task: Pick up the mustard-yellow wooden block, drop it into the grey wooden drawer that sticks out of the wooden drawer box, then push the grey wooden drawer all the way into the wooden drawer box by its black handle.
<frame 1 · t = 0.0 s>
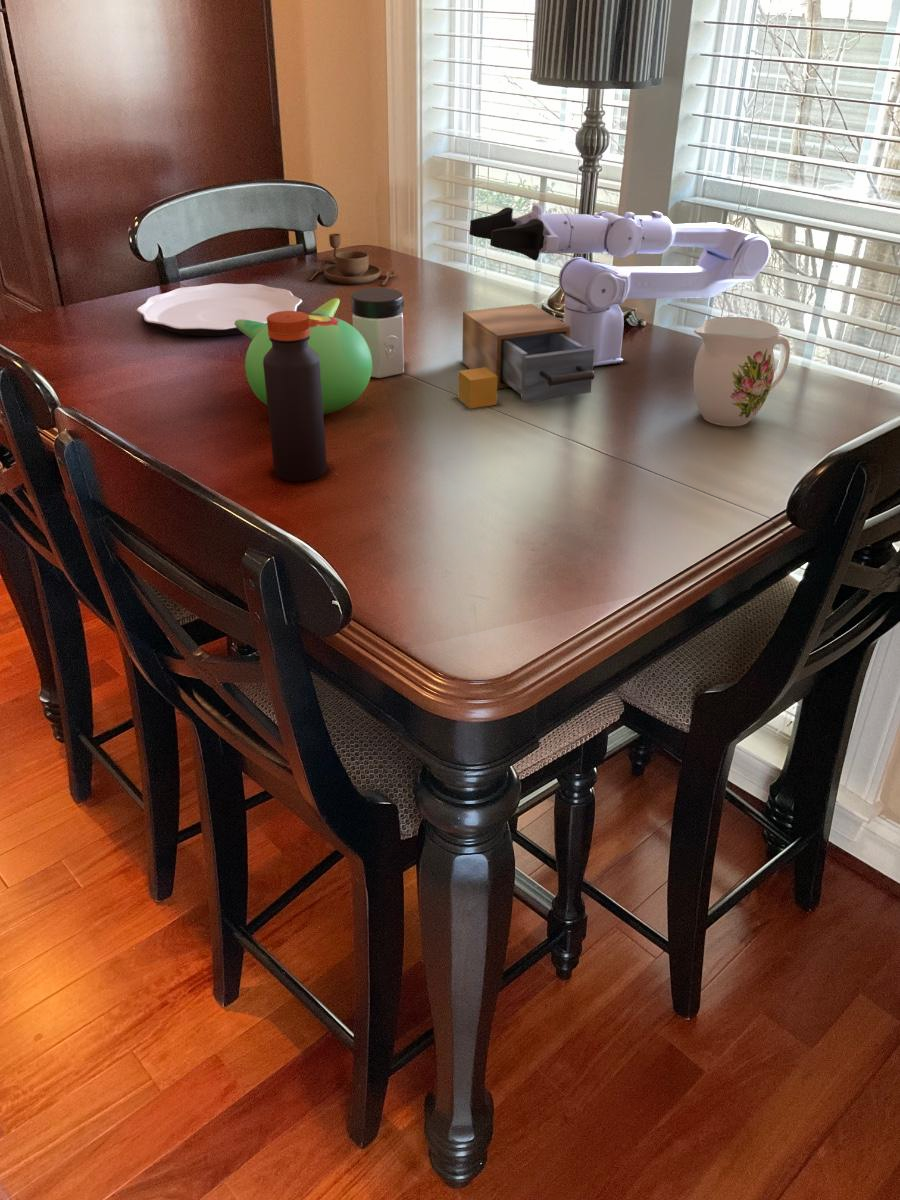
hand: (481, 232, 145), 22 cm above the table, tool horizontal, fingers open, 7 cm apart
pitcher: (730, 417, 142), on the table
jar: (379, 370, 159), on the table
block: (477, 401, 147), on the table
place setting: (356, 274, 209), on the table
wooden drawer box: (513, 370, 158), on the table
grey wooden drawer: (546, 367, 147), point 4 cm above the table, slide at 7.5 cm
toy bird: (311, 411, 144), on the table
bottle: (300, 473, 126), on the table
plate: (222, 318, 182), on the table
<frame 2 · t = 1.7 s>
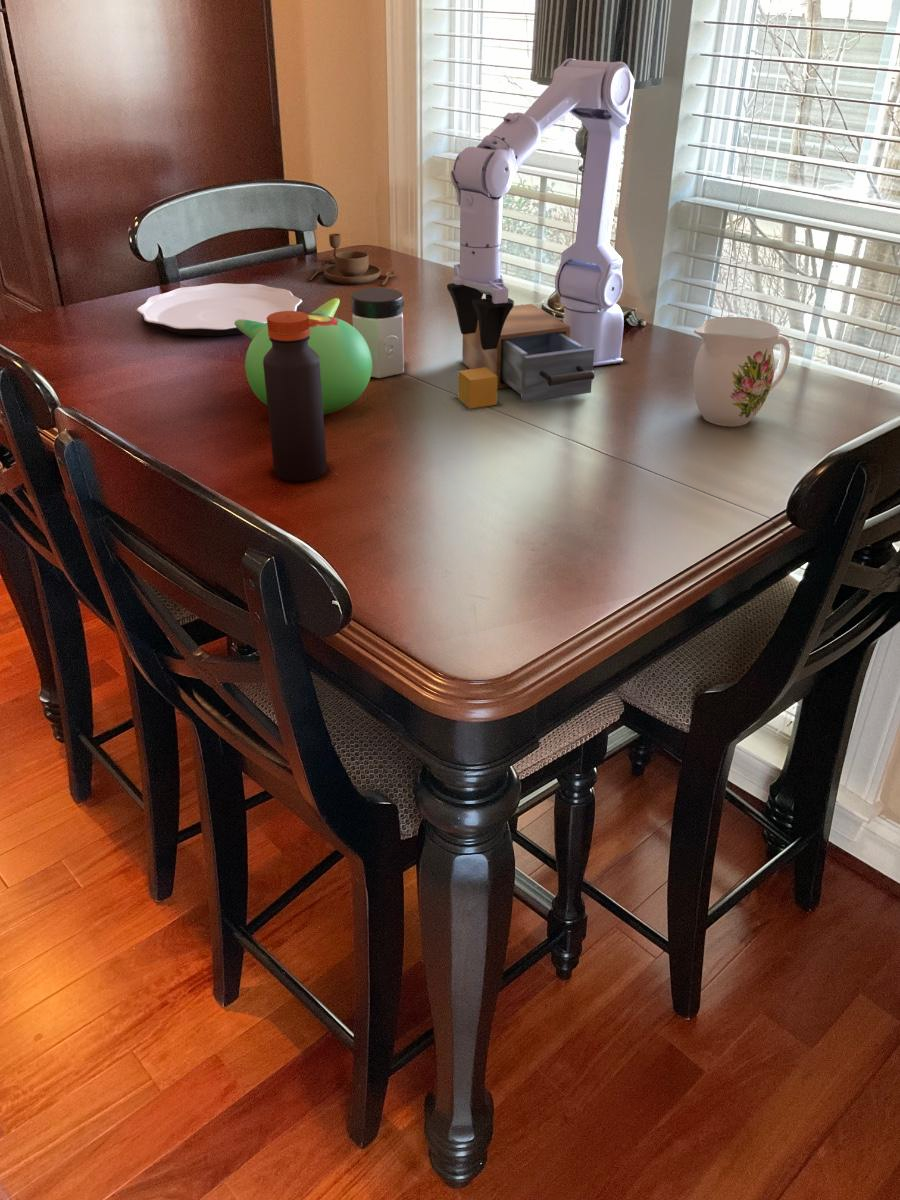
hand: (478, 340, 142), 9 cm above the table, tool pointing down, fingers open, 7 cm apart
nothing on the table moved.
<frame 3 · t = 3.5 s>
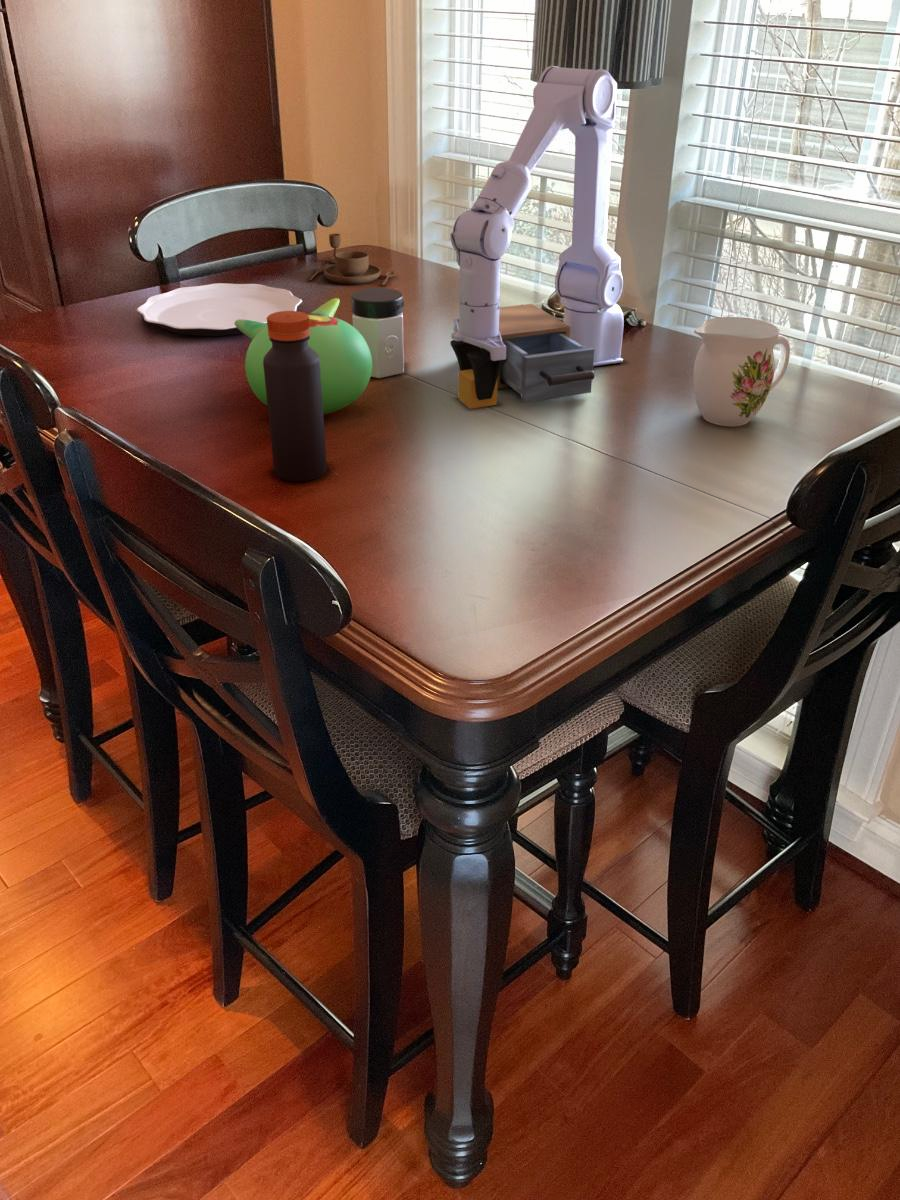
hand: (477, 392, 146), 1 cm above the table, tool pointing down, fingers closed on block, 4 cm apart
block: (477, 401, 147), on the table, touching gripper
everything else where it was.
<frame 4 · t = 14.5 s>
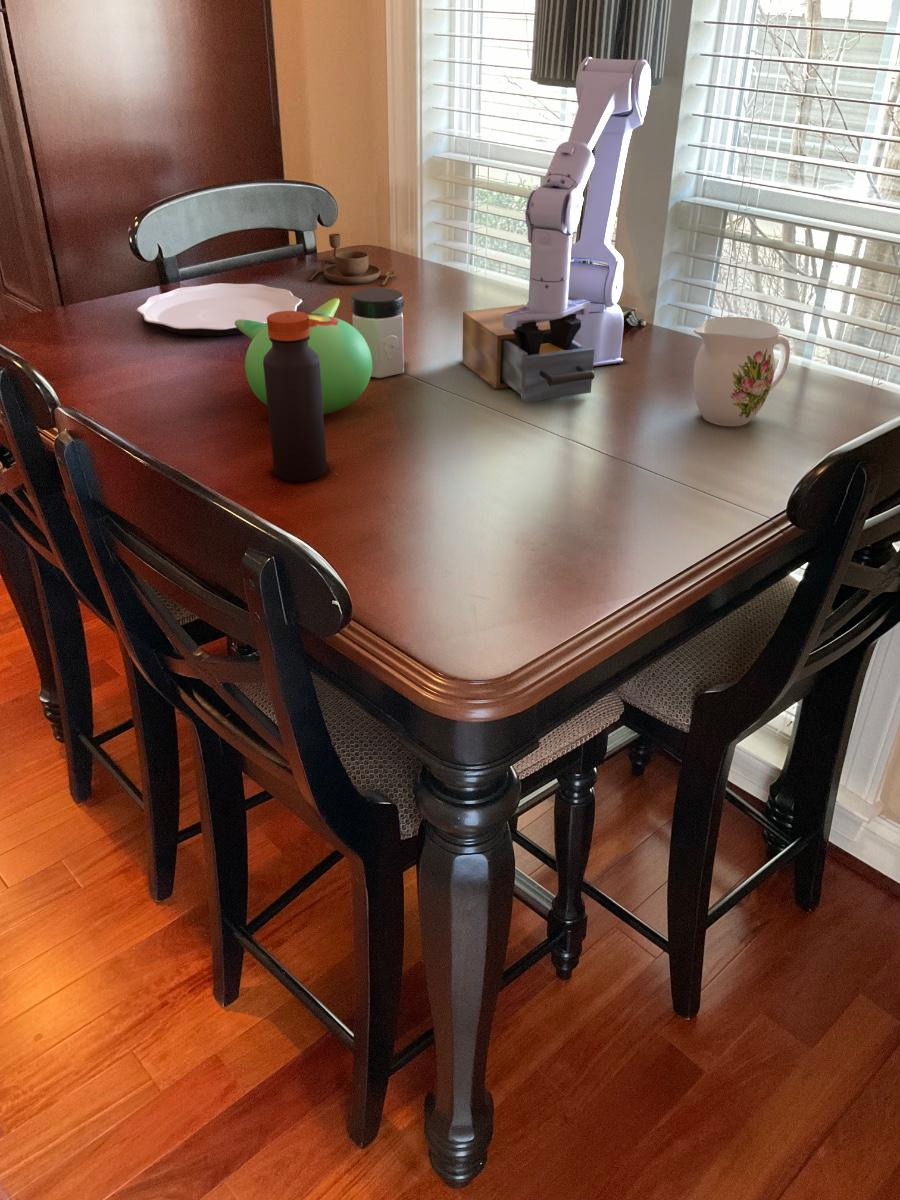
hand: (544, 368, 148), 4 cm above the table, tool pointing down, fingers closed on block, 4 cm apart
block: (543, 377, 149), point 2 cm above the table, touching gripper
everything else where it was.
when the fingers open (6 cm above the table, at t = 18.5 s): block stays where it is, resting on grey wooden drawer.
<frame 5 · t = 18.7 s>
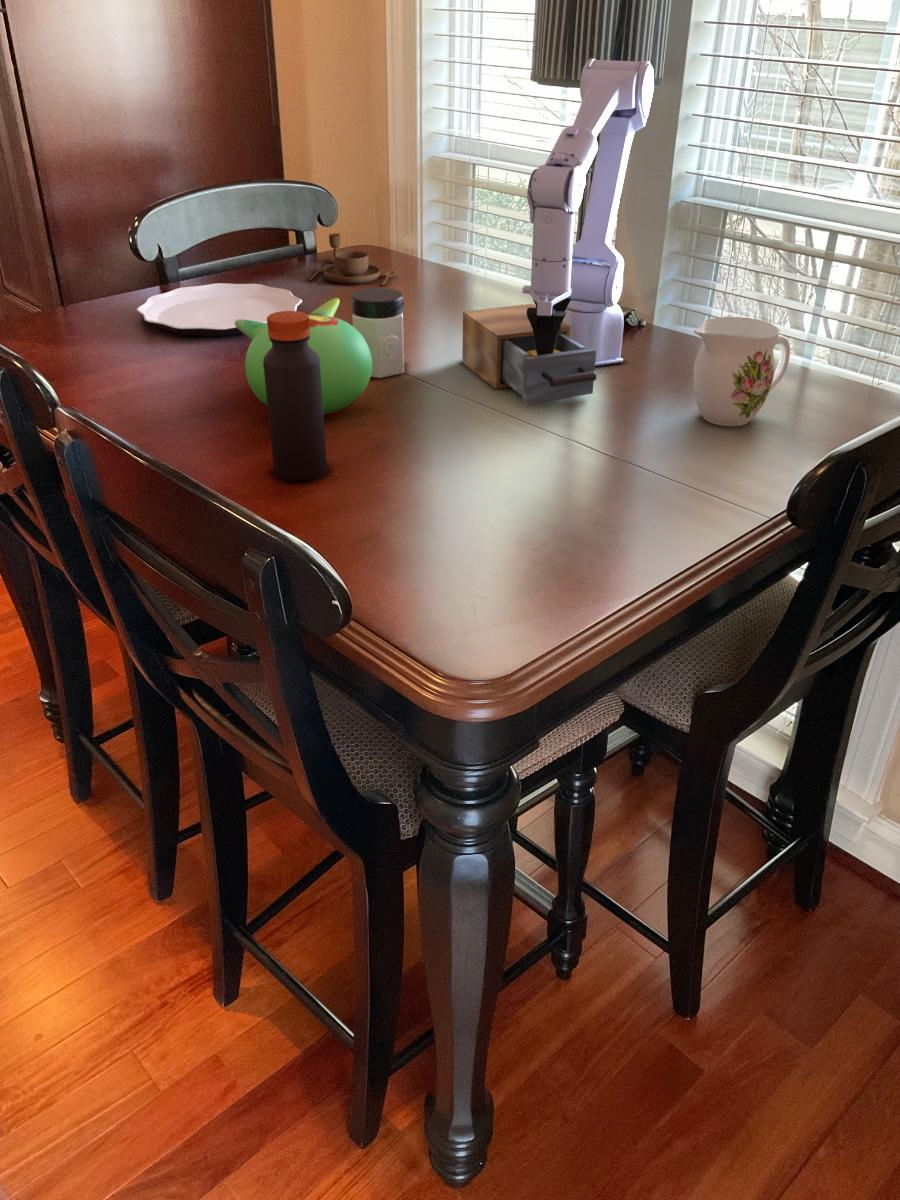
hand: (547, 350, 147), 7 cm above the table, tool pointing down, fingers open, 5 cm apart
block: (545, 381, 149), point 2 cm above the table, touching grey wooden drawer
grey wooden drawer: (548, 368, 147), point 4 cm above the table, slide at 8.0 cm, touching block
everything else where it was.
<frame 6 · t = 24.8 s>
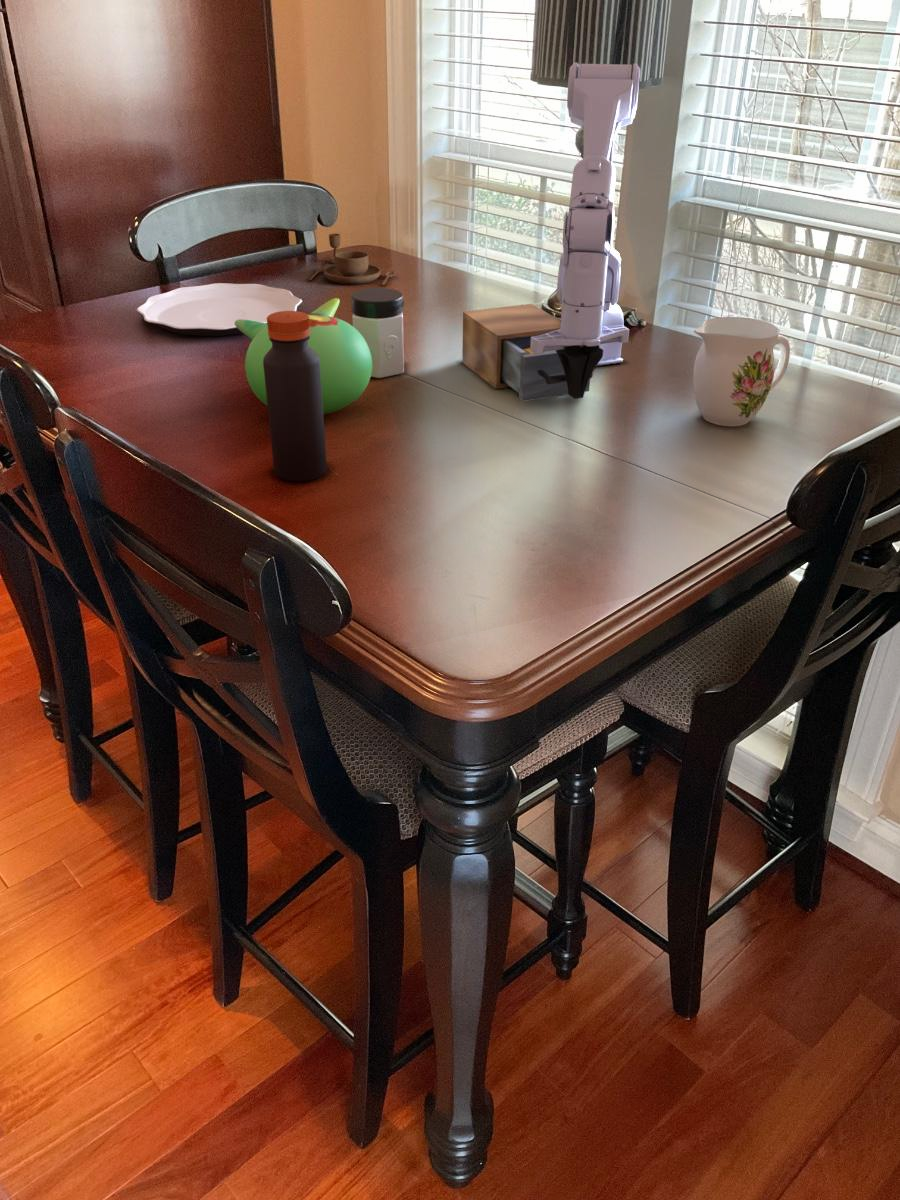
hand: (575, 396, 141), 3 cm above the table, tool pointing down, fingers closed, pressing on grey wooden drawer
block: (541, 378, 150), point 2 cm above the table, touching grey wooden drawer
grey wooden drawer: (545, 365, 148), point 4 cm above the table, slide at 6.9 cm, touching block, gripper
everything else where it was.
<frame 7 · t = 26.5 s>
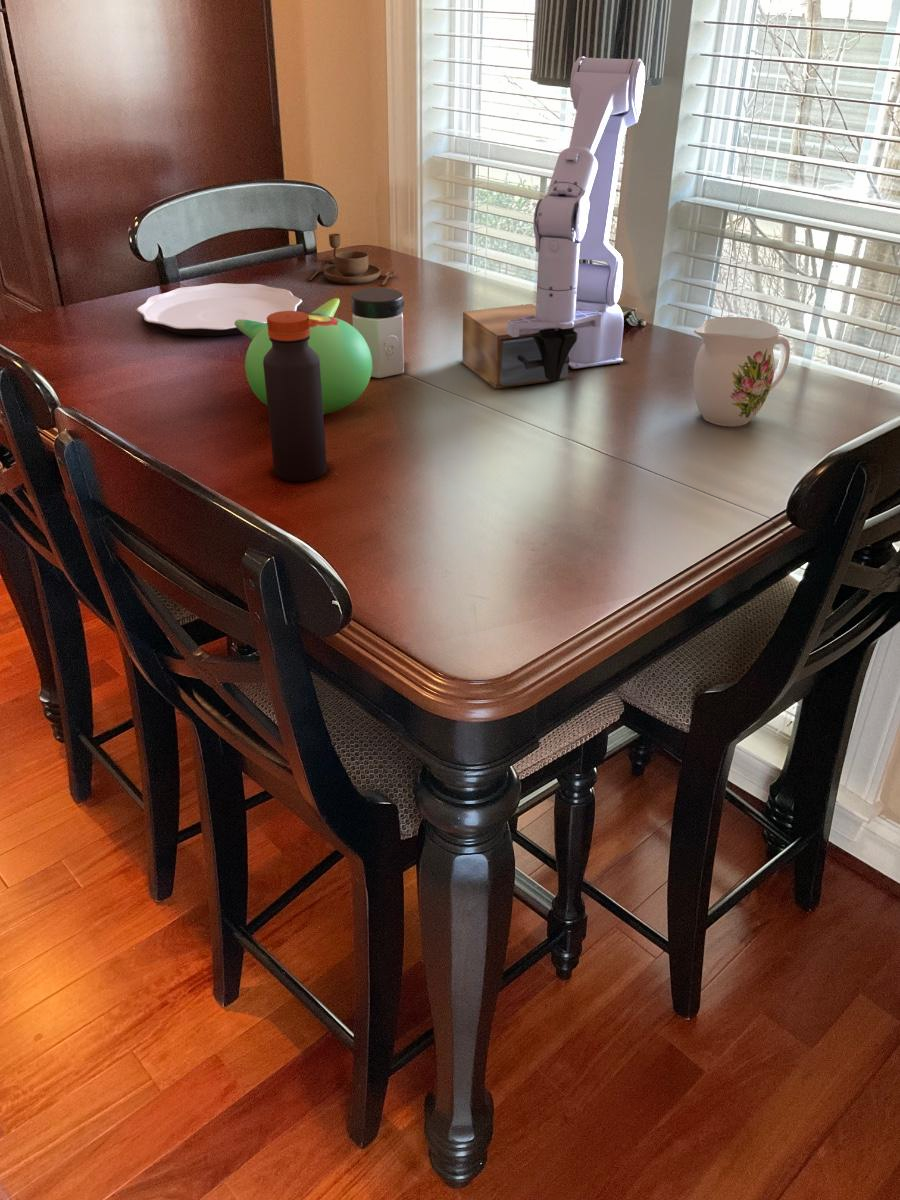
hand: (551, 378, 146), 3 cm above the table, tool pointing down, fingers closed, pressing on grey wooden drawer
block: (521, 364, 155), point 2 cm above the table, touching grey wooden drawer
grey wooden drawer: (524, 352, 153), point 4 cm above the table, slide at 0.0 cm, touching block, gripper, wooden drawer box
everything else where it was.
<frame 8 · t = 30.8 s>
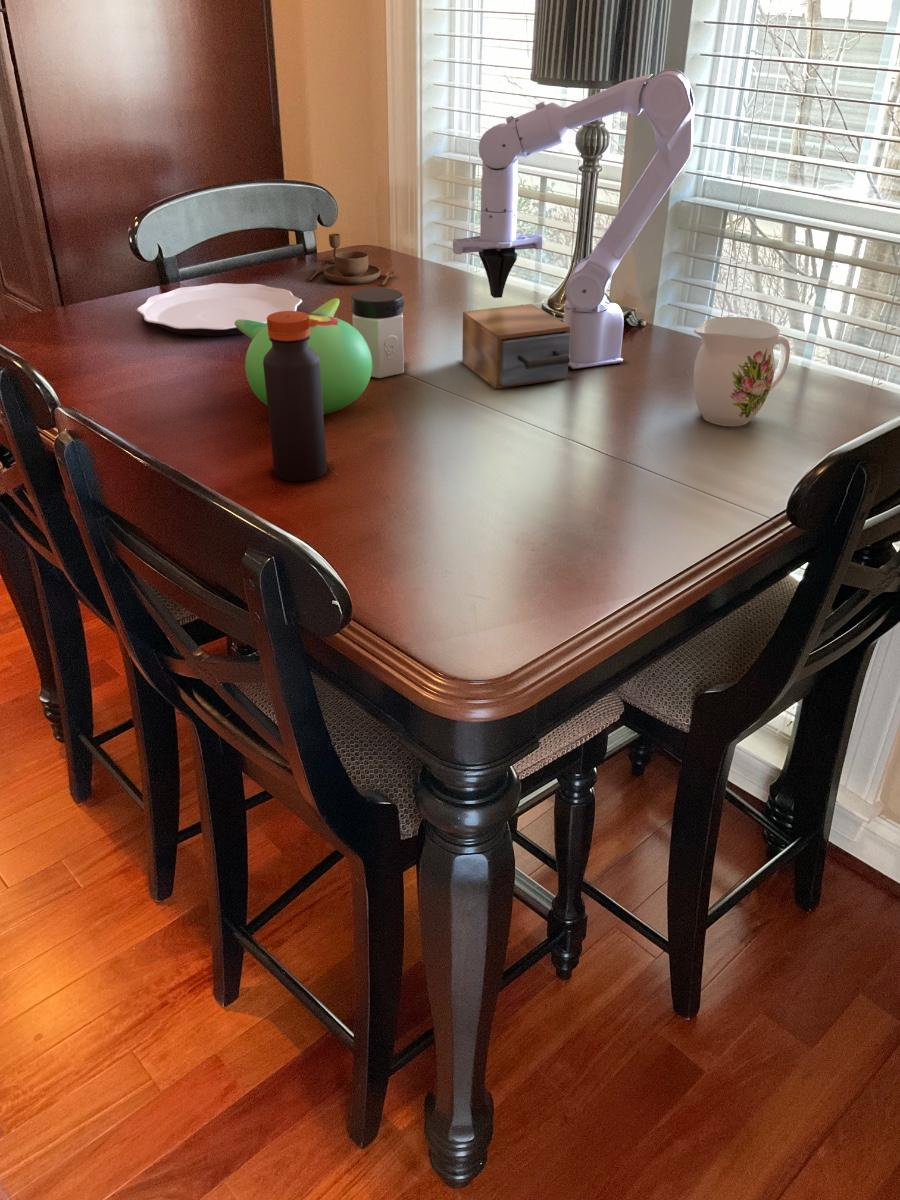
hand: (496, 296, 161), 9 cm above the table, tool pointing down, fingers closed
grey wooden drawer: (524, 352, 153), point 4 cm above the table, slide at 0.0 cm, touching block
everything else where it was.
at the end: block inside the target area in the wooden drawer box (2.9 cm from its centre), point 1.9 cm above the wooden drawer box's base; grey wooden drawer slide at 0.0 cm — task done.
